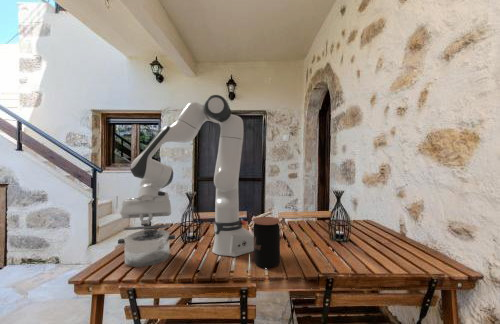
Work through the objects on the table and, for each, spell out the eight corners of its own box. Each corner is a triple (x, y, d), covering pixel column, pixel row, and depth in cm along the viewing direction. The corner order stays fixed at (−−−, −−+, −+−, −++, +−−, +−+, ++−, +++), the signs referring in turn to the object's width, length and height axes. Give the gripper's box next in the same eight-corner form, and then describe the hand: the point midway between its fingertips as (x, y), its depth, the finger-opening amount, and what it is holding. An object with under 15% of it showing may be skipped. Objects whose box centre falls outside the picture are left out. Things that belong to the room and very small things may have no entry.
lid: (129, 230, 115) (129, 223, 116) (171, 227, 120) (171, 220, 121) (117, 231, 97) (118, 222, 98) (168, 227, 101) (168, 219, 102)
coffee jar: (254, 258, 106) (253, 216, 106) (278, 258, 106) (278, 216, 106) (253, 269, 96) (253, 222, 96) (281, 269, 95) (280, 222, 95)
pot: (124, 253, 114) (124, 231, 114) (176, 248, 119) (176, 227, 119) (112, 269, 96) (112, 244, 96) (173, 263, 102) (173, 239, 102)
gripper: (122, 194, 107) (115, 222, 97) (171, 192, 112) (169, 219, 102) (124, 203, 111) (118, 230, 102) (172, 201, 116) (170, 227, 107)
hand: (144, 224), depth 102 cm, fingers closed
